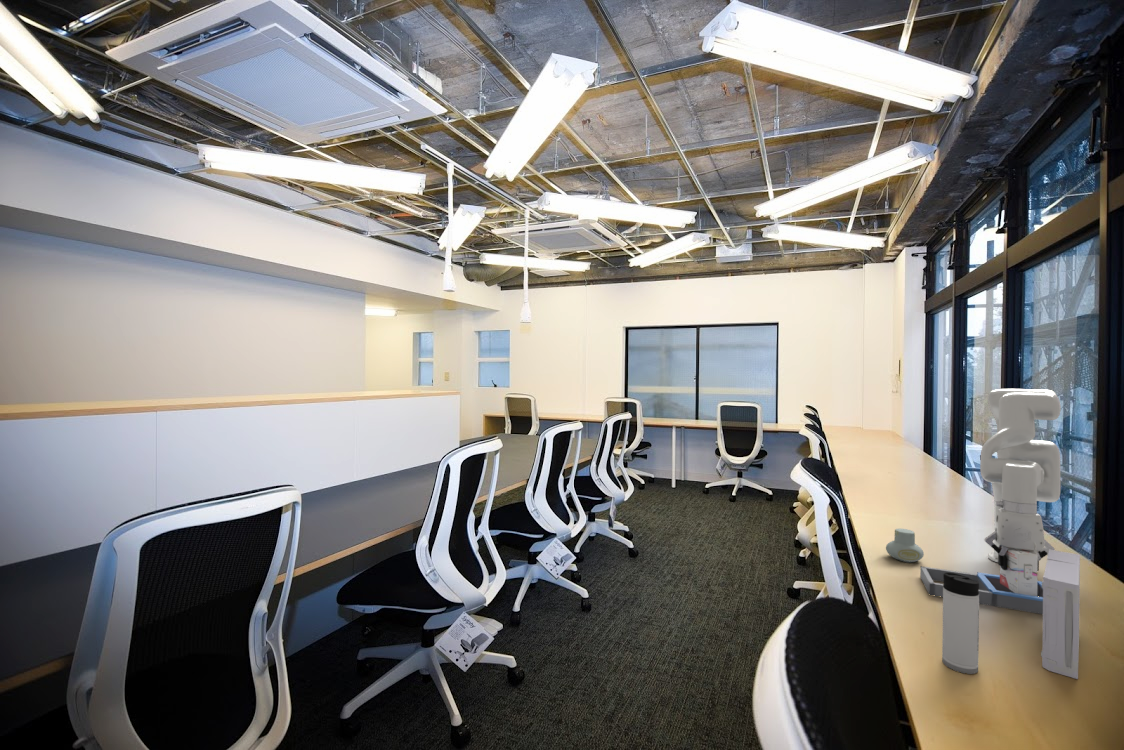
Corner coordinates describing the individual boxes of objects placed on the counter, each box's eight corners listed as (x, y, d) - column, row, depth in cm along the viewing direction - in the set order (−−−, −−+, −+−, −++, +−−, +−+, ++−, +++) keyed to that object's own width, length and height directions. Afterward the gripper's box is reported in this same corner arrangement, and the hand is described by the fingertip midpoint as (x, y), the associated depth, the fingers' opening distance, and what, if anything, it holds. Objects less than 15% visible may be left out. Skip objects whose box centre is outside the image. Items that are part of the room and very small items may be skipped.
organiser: (920, 576, 164) (920, 563, 164) (1043, 595, 150) (1043, 581, 150) (929, 595, 150) (929, 581, 150) (1066, 618, 136) (1066, 602, 136)
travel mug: (933, 659, 116) (934, 570, 116) (960, 658, 116) (961, 569, 116) (957, 675, 109) (958, 581, 109) (986, 674, 110) (987, 580, 110)
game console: (1040, 668, 112) (1041, 577, 112) (1046, 627, 131) (1047, 549, 131) (1078, 680, 108) (1078, 585, 108) (1079, 635, 127) (1079, 554, 127)
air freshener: (918, 557, 182) (918, 528, 182) (927, 565, 174) (927, 535, 174) (882, 553, 185) (883, 525, 185) (890, 561, 177) (890, 532, 177)
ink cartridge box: (998, 583, 151) (998, 533, 151) (1018, 584, 150) (1018, 534, 150) (1017, 595, 143) (1018, 542, 143) (1038, 597, 142) (1039, 543, 142)
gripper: (984, 506, 147) (983, 569, 147) (1064, 514, 140) (1063, 581, 140) (977, 501, 154) (976, 561, 154) (1053, 508, 146) (1052, 571, 146)
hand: (1018, 570), depth 147 cm, fingers closed on ink cartridge box, 5 cm apart
